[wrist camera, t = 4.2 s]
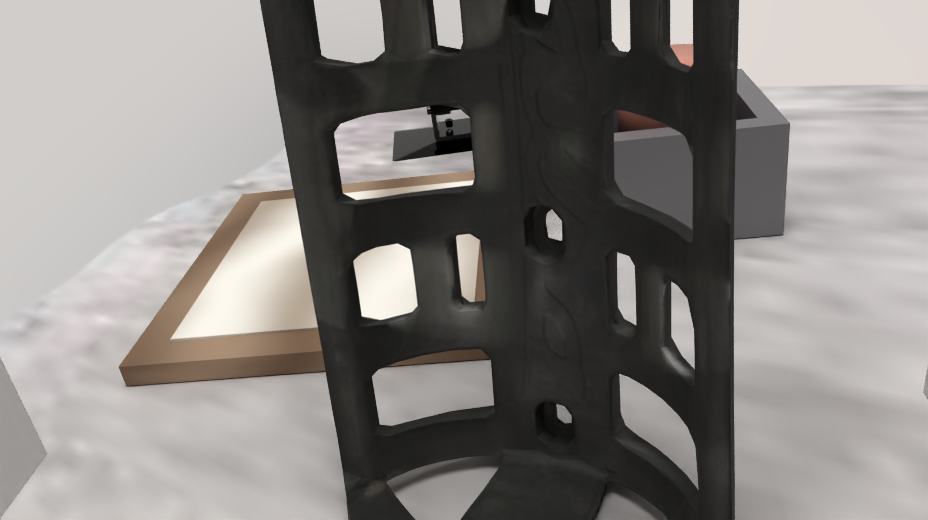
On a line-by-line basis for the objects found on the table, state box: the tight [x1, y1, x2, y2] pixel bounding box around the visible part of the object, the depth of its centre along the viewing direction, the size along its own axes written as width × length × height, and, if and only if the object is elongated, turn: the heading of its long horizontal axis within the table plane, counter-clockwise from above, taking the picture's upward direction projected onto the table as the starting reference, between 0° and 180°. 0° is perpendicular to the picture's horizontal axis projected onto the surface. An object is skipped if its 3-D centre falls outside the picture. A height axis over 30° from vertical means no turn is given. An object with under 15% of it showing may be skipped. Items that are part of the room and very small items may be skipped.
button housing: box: [614, 69, 790, 239], centre depth 38 cm, size 8×8×5 cm
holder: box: [260, 0, 739, 520], centre depth 18 cm, size 11×8×20 cm
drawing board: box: [119, 171, 490, 386], centre depth 37 cm, size 15×16×1 cm
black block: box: [393, 105, 472, 161], centre depth 50 cm, size 12×7×5 cm, turn 92°
